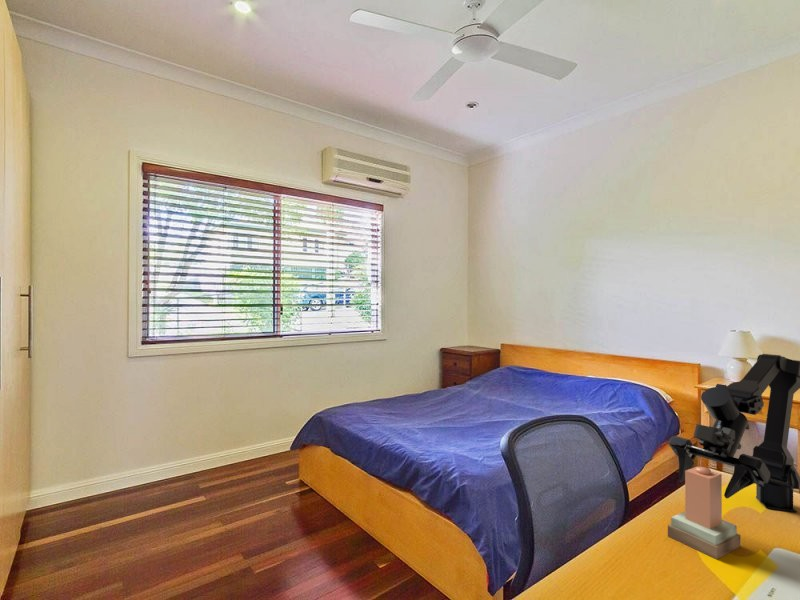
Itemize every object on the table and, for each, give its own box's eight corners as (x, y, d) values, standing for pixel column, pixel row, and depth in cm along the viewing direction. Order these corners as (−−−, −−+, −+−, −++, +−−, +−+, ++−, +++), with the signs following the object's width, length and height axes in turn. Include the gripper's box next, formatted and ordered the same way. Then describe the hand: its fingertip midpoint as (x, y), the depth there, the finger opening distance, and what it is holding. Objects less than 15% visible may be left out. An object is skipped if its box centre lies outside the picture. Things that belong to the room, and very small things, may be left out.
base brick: (691, 525, 102) (691, 506, 102) (740, 546, 93) (740, 525, 93) (667, 536, 97) (667, 516, 97) (716, 559, 88) (716, 537, 88)
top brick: (697, 513, 99) (697, 463, 99) (721, 523, 94) (721, 470, 94) (685, 518, 96) (685, 467, 96) (709, 529, 92) (709, 475, 92)
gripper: (672, 403, 106) (645, 455, 101) (763, 421, 89) (738, 484, 84) (689, 429, 110) (665, 481, 104) (780, 452, 93) (757, 514, 88)
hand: (702, 488), depth 95 cm, fingers open, 9 cm apart
